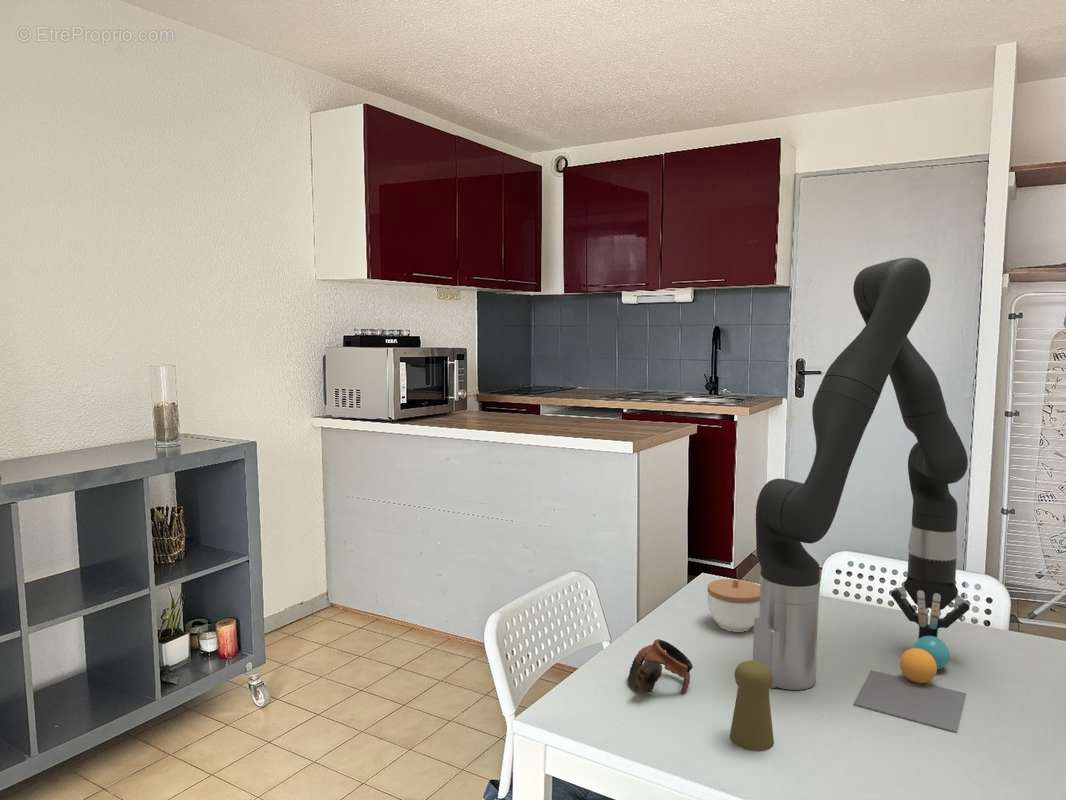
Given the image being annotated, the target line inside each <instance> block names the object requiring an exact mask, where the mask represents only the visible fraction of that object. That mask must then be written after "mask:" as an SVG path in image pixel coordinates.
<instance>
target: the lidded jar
mask: <svg viewBox="0 0 1066 800" xmlns="http://www.w3.org/2000/svg"><path fill="white" fill-rule="evenodd" d="M707 602H708V603H707V605H708V609H709V612H710V614H711V616H712V618H713V620H714V621H715V622H716V623H717V624H718V627H720V628H721V629H722V630H724V629H725V631H727V632H731V631H733V632H732V633H745V632H744V631H746V632H748V630H749V629H750V628H752V627H754V619H755V618H758V617H759V609H760V585H759V584H756V583H754V582H752V581H748V580H742V579H737V578H723V579H717V580H713V581H710V582H709V583H708V584H707ZM750 630H751V629H750ZM750 630H749V631H750Z"/></svg>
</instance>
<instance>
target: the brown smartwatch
mask: <svg viewBox="0 0 1066 800" xmlns="http://www.w3.org/2000/svg"><path fill="white" fill-rule="evenodd" d="M662 665H664V669H665V670H666V671H668V672H671V673H672V674H676V675H678V676H679V677H681V678H683V683H682V687H681V688H680V689H681V693H683V694H685V693H686V691H687V689H688V688H689V685H690V683H691V674H690V671H691V670H692V669H693V663H692V662H691V660H690V659H689V658H688V657H687V655H685V654H684V653H683V652H682V651H681V650H680V649H678V648H677V647H676V646H675V645H673V644H671V643H670V642H667V641H665V640H662V639H660V638H659V639H654V641H653V643H652V644H649V645H646V646H644V647H643V648H641V649H640V650H639V651H638V652H637V653H636V655H635V657H634V659H633V661H632V664H631V667H629V668H630V669H629V674H628V676H627V683H628V685H629V687H630V688H631V690H632V691H633V692H637V691H638V687H639V689H640V690H641V692H644V693H649V694H651V693H652V692H653V690H654V688H655V684H656V683H657V682H658V680H659V678H660V677H661V676H662V672H663V666H662Z"/></svg>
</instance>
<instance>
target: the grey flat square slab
mask: <svg viewBox="0 0 1066 800" xmlns="http://www.w3.org/2000/svg"><path fill="white" fill-rule="evenodd" d="M965 695H967V692H962V691H959V690H954V689H950V688H946V687H942V686H937V685H934V684H930V683H915V682H912V681H910V680H909V679H908V678H906V677H901V676H897V675H893V674H889V673H885V672H884V673H883V672H880V671H875V670H870V672H869V674H868V676H867V677H866V679H865V682H864V683H863V685H862V686H861V689H860V690H859V692H858V694H857V696H856V698H855V699H854V702H853V706H855V707H859V708H863V709H866V710H871V711H875V712H878V713H881V714H886V715H887V716H888V715H889V716H893V717H896V718H899V719H903V720H907V721H911V722H915V723H919V724H922V725H926V726H930V727H933V728H937V729H941V730H944V731H948V732H951V733H955V734H957V733H958V729H959V725H960V720H961V716H962V712H963V708H964V704H965V699H966V696H965Z"/></svg>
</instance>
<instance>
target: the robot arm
mask: <svg viewBox="0 0 1066 800" xmlns="http://www.w3.org/2000/svg"><path fill="white" fill-rule="evenodd" d="M931 280H932V279H931V274H930V270H929V268H928V267H927V265H926V264H925V263H924V262H923V261H922V260H921V259H918V258H914V257H900V258H896V259H891V260H888V261H884V262H883V261H882V262H881V263H876V264H873V265H869V266H867V267H864V268H863V269H862V270H861V271H859V273H858V274H857V275H856V276H855V279H854V282H853V287H852V289H853V291H852V292H853V296H854V300H855V304H856V306H857V308H858V312H859V313H860V316H861V317H862V319H863V321H864V324H865V326H864V328H863V329H862V330H861V331H860V333H858V334H857V336H856V337H855V338H854V339H853V340H852V341H851V342H850V343H849V344H848V345H847V346H846V347H845V348H844V350H842V352H840V353H839V354H838V356H837V357H836V358H835V359H834V361H832V363H831V364H830V366H829V367H828V369H827V370H826V372H825V373H824V376H823V378H822V380H821V382H820V385H819V387H818V389H817V392H816V394H815V397H814V399H813V403H812V407H811V408H812V409H811V412H812V413H811V415H812V416H811V417H812V424H813V430H814V436H815V437H814V438H815V444H816V445H815V455H814V459H813V462H812V464H811V465H812V466H811V468H810V470H809V473H808V475H807V478H806V479H805V481H804V482H799V481H794V480H790V479H785V478H774V479H771V480H769V481H768V482H766V483H765V484H764V486H762V488H761V490H760V492H759V494H758V498H757V500H756V506H755V542H756V545H755V547H756V548H755V550H756V557H757V560H758V562H759V566H760V585H759V586H760V609H759V617H758V618H755V619H754V625H753V640H752V641H753V643H752V644H753V645H752V661H757V662H760V663H763V664H765V665H766V666H768V667H769V668H770V670H771V671H772V675H773V683H772V686H771V688H770V689H774V688H775V689H776V687H777V688H779V689H783V690H784V689H785V690H791V691H802V690H808V689H809V688H812V687H813V686H814V685H815V684H816V682H817V681H816V679H817V676H816V675H817V657H818V656H817V651H818V632H819V631H818V630H819V629H818V625H819V602H820V582H821V581H820V579H821V578H820V577H821V570H820V569H821V568H820V565H819V562H818V561H817V560H816V559H815V558H814V557H813V556H812V555H811V554H810V553H809V552H808V551H807V550H806V549H805V548H804V545H803V544H808V545H809V544H810V545H811V544H814V543H817V542H819V541H820V540H822V539H823V538H824V537H825V536H826V534H827V533H828V531H829V530H830V527H831V526H832V524H833V521H834V520H835V517H836V514H837V511H838V508H839V505H840V502H841V500H842V499H841V498H842V495H843V492H844V488H845V485H846V482H847V479H848V475H849V472H850V470H851V469H850V468H851V466H852V463H853V461H854V458H855V456H856V453H857V450H858V448H859V445H860V443H861V440H862V438H863V436H864V433H865V431H866V429H867V427H868V424H869V422H870V420H871V418H872V416H873V414H874V412H875V409H876V406H877V404H878V402H879V399H880V398H881V397H880V396H881V394H882V391H883V388H884V387H885V384H886V381H887V379H888V376H889V378H890V380H891V384H892V387H893V389H894V393H895V397H896V400H897V404H898V408H899V411H900V415H901V418H902V421H903V423H904V426H905V427H906V428H907V429H908V431H910V432H911V433H913V435H914V437H915V438H916V441H917V442H915V443H914V445H912V447H911V449H910V451H909V454H908V459H907V472H908V479H909V486H910V491H911V496H912V497H911V498H912V513H911V526H910V527H911V528H910V532H909V539H908V541H909V542H908V547H907V548H908V558H907V559H908V560H907V577H906V579H905V581H904V582H903V585H901V586H900V587H895V588H893V590H892V591H891V593H890V595H891V597H892V598H893V600H894V602H895V603H896V604H897V605H898V607H899V608H900V609H901V611H902V612H903V614H904V616H905V617H906V618H907V619H908V621H910V622H912V623H913V622H914V623H916V624H917V625H918V639H919V638H921V637H924V636H934V637H937V638H939V637H938V635H939V633H938V631H939V629H942V628H943V629H947V628H949V627H950V626H951V625H952V624H954V623H955V622H957V621H958V620H959V619H960V618H961V617H962V616H964V615H965V614H966V613H967V612H968V611H969V610H970V607H971V602H970V601H969V600H967V599H964V598H963V597H962V596H961V595H959V589H958V587H957V585H956V578H957V577H956V575H957V562H958V561H957V560H958V558H957V557H958V536H957V534H958V533H957V531H958V530H957V527H958V513H959V512H958V502H957V500H956V499H955V497H954V496H953V495H952V494H951V492H950V490H949V489H950V488H949V485H951V484H955V483H957V482H960V481H961V480H962V479H963V477H964V476H965V475H966V472H967V470H968V465H969V462H968V461H969V459H968V454H967V450H966V448H965V445H964V443H963V441H962V438H961V437H960V435H959V433H958V431H957V429H956V427H955V425H954V423H953V422H952V420H951V418H950V416H949V415H948V412H947V411H948V410H947V407H946V402H945V399H944V395H943V392H942V388H941V385H940V382H939V379H938V377H937V375H936V374H935V372H934V370H933V369H932V368H931V366H930V365H929V363H928V362H927V361H926V360H925V358H924V357H923V356H922V355H921V354H920V352H918V350H917V348H916V347H915V346H914V345H913V343H912V342H911V340H910V339H909V337H908V335H909V333H910V331H911V330H912V328H913V326H914V324H915V323H916V322H917V319H918V317H919V315H920V314H921V312H922V310H923V309H924V307H925V304H926V302H927V301H928V299H929V294H930V292H931V282H932V281H931ZM908 595H909V597H910V598H911V600H912V601H913V603H914V605H916V606H917V611H916V610H915V609H914V607H913V606H912V604H911V603H910V602H909V600H908ZM953 601H954V603H953V606H952V607H953V609H952V610H951V611H950V612H949V613H947V614H946V615H945V616H944V617H941V618H940V615H941V610H944V609H945V608H946V607H947V606H949V604H951V603H952V602H953ZM929 609H930V618H929V613H928V612H929Z"/></svg>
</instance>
